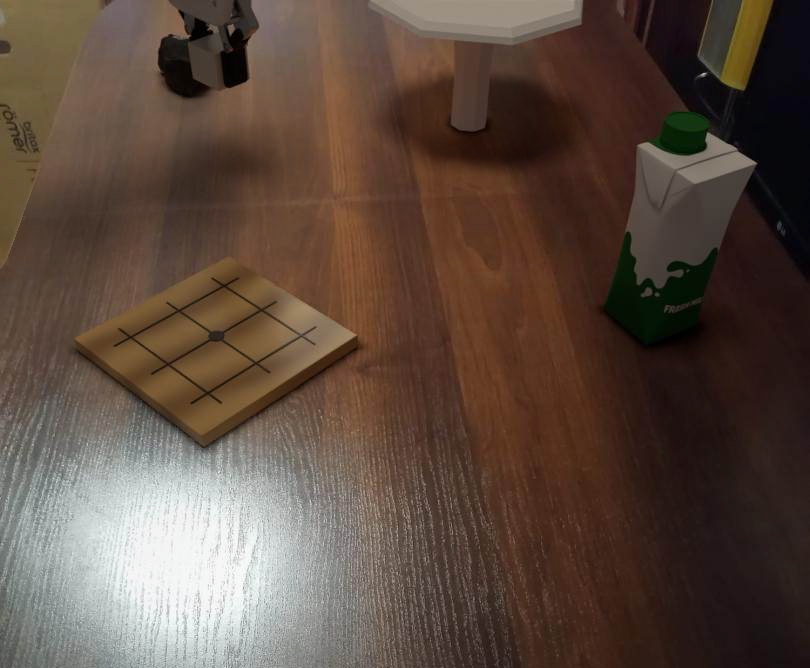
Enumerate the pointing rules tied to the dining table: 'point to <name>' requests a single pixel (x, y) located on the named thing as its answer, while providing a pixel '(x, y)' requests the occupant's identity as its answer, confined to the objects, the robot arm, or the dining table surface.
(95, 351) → the board
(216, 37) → the two-tone grey box
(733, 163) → the milk carton
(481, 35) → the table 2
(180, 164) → the dining table surface
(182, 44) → the rock
